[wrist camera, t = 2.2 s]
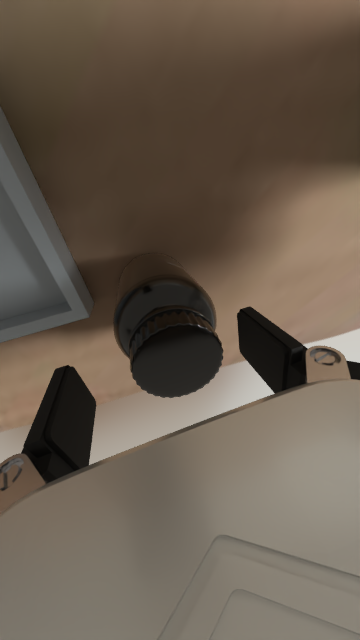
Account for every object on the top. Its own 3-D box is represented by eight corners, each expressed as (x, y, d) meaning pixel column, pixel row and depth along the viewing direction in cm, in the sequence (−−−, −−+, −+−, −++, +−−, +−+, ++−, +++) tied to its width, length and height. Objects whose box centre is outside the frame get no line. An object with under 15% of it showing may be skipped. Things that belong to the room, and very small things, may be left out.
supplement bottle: (188, 251, 19) (258, 299, 9) (184, 314, 23) (232, 401, 12) (114, 250, 18) (98, 307, 8) (121, 318, 21) (116, 422, 11)
